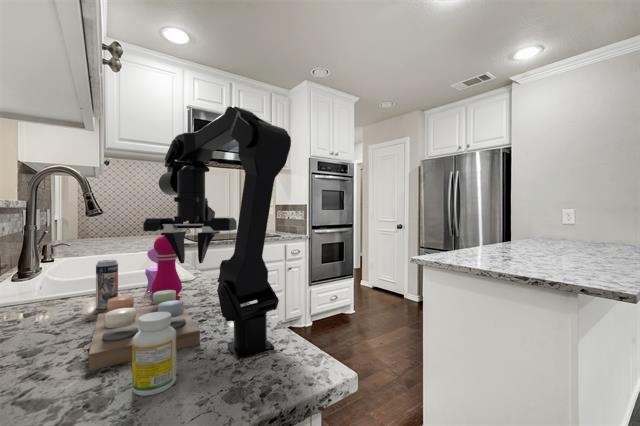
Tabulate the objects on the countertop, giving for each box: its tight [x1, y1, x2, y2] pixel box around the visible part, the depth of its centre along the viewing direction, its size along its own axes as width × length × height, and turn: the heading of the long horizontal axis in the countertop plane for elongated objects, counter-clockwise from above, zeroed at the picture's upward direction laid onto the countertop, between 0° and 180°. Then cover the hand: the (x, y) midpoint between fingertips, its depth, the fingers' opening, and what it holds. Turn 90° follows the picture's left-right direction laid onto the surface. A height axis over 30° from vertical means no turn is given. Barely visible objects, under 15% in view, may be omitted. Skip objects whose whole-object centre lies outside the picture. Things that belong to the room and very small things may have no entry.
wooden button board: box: [88, 305, 201, 372], centre depth 58 cm, size 22×16×3 cm
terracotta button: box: [107, 295, 135, 312], centre depth 59 cm, size 4×4×2 cm
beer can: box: [95, 259, 119, 310], centre depth 75 cm, size 5×5×12 cm
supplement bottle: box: [131, 312, 177, 397], centre depth 40 cm, size 5×5×10 cm
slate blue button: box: [158, 299, 185, 318], centre depth 56 cm, size 4×4×2 cm
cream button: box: [105, 307, 135, 328], centre depth 51 cm, size 4×4×2 cm
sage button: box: [152, 290, 176, 305], centre depth 64 cm, size 4×4×2 cm
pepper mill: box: [150, 235, 183, 306], centre depth 77 cm, size 7×7×20 cm
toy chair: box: [144, 246, 158, 293], centre depth 89 cm, size 8×9×15 cm
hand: (191, 263), depth 64 cm, fingers open, 4 cm apart
